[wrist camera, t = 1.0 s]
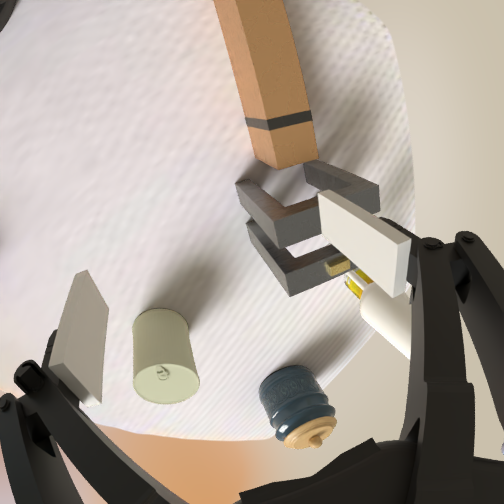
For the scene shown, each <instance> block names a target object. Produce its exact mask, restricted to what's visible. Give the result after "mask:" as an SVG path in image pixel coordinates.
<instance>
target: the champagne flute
mask: <svg viewBox="0 0 504 504" xmlns="http://www.w3.org/2000/svg"><path fill="white" fill-rule="evenodd" d="M330 244H331V243H330ZM330 244H328V245H330ZM328 245H327V246H328ZM346 274H347V275H348V276H349V277H350V278H351V279H352V280H353V281H354V282H355V283H356V284H357V285H358V286H359V287H360V288H361V289H362V290H363V292H362V295H361V298H360V313H361V316H362V317H363V319H364V320H365V321H366V322H367V323H369V324H370V325H371V326H372V327H373V328H374V329H375V330H377V331H378V332H379V333H380V334H381V335H382V336H383V337H385V338H386V339H387V340H388V341H389V342H390V343H391V344H392V345H394V346H395V347H396V348H397V349H398V350H399V351H401V353H403V354H404V355H405V356H406V357H407V358H408V359H409V360H410V355H411V304H409V301H410V298H409V297H408V296H407V295H406V293H405V292H404V293H402V294H400V295H398V296H396V297H394V298H392V297H391V296H389V295H388V294H387V293H386V292H385V291H384V290H383V289H382V288H381V287H380V286H379V285H378V284H376V283H375V282H373V283H370V284H367V283H366V282H365V281H364V280H363V279H362V278H361V277H360V276H359V275H358V274H356V273H355V272H354V271H353V270H352V271H349V272H347V273H346Z"/></svg>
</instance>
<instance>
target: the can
mask: <svg viewBox="0 0 504 504" xmlns="http://www.w3.org/2000/svg"><path fill="white" fill-rule="evenodd" d="M188 332H189V329H188V325H187V322H186V320H185V319H184V318H183V317H182V316H181V315H180V314H178V313H177V312H175V311H172V310H169V309H161V308H160V309H152V310H148V311H146V312H144V313H142V314H141V315H139V316H138V317H137V319H136V320H135V322H134V324H133V327H132V333H133V387H134V390H135V392H136V393H137V394H138V395H139V396H140V397H141V398H143V399H145V400H147V401H149V402H152V403H156V404H175V403H179V402H182V401H185V400H187V399H189V398H190V397H192V396H193V395H194V394H195V393H196V392H197V390H198V388H199V385H200V380H199V377H198V374H197V370H196V366H195V362H194V358H193V353H192V349H191V344H190V339H189V333H188Z"/></svg>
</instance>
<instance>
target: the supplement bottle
mask: <svg viewBox="0 0 504 504" xmlns="http://www.w3.org/2000/svg"><path fill="white" fill-rule="evenodd" d="M353 271H354V272H355V273H356V274H358V275H359V276H360V277H361V278H362V279H363V280H364V281H365V282H366V283H367V284H370V283H373V282H374V281H373V280H372V279H371V278H370V277H369V276H368V275H366V274H365V273H364V272H363V271H362V270H361V269H360V268H359V267H358V268H356V269H354V270H353ZM344 283H345V285H346V286H347V287H348V288H349V289H350V290H351V291H352V292H353V293H354V294H355V295H356V296H357V297H358V298H359V299H360V298H361V295H362V292H363V290H362V289H361V288H360V287H359V286H358V285H357V284H356V283H355V282H354V281H353V280H352V279H351V278H350V277H349V276H348V275H347V274H346V273H345V275H344Z"/></svg>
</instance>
